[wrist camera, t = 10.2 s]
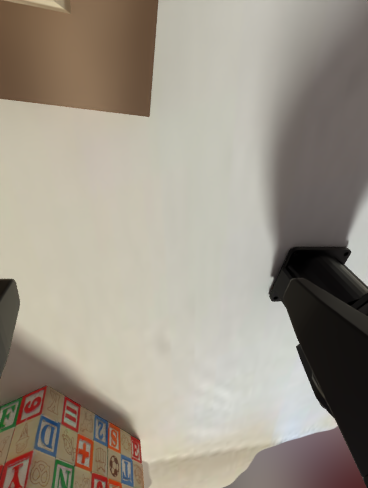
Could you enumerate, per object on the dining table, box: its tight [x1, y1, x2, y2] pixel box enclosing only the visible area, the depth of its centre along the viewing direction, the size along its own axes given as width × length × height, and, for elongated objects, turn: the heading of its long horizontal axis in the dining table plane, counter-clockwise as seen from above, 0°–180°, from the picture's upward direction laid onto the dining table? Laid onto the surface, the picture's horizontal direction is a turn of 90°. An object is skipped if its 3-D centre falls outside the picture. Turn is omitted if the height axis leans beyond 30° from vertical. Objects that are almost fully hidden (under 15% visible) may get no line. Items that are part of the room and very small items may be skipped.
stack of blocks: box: [0, 386, 144, 488], centre depth 31 cm, size 21×6×12 cm, turn 22°
